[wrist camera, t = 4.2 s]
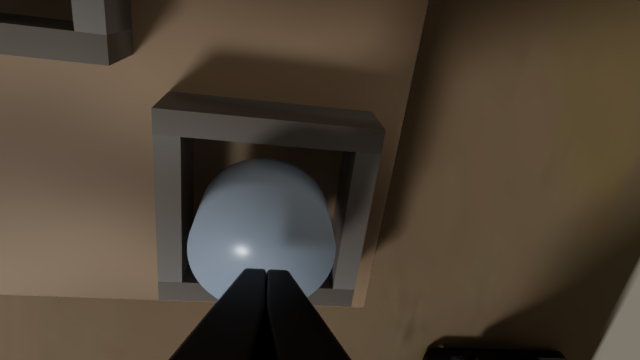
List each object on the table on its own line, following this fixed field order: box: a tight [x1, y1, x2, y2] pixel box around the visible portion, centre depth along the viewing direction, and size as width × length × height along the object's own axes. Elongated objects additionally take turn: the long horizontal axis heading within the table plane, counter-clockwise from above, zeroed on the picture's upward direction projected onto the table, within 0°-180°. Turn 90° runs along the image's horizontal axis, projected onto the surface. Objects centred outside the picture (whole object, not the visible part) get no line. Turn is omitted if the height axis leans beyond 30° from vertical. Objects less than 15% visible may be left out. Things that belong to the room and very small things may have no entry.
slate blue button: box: [187, 158, 336, 299], centre depth 10 cm, size 3×3×2 cm
